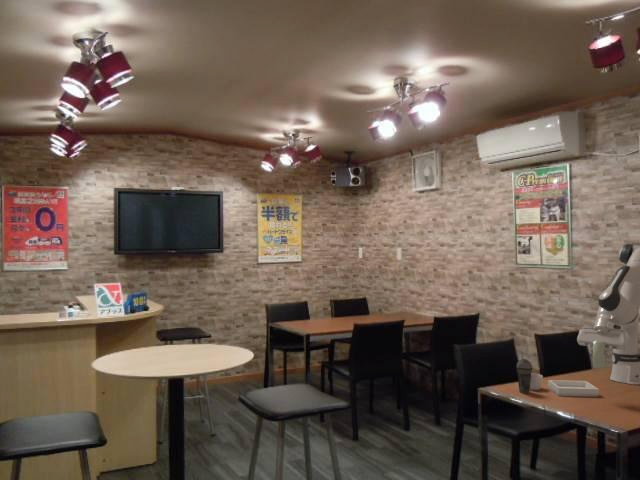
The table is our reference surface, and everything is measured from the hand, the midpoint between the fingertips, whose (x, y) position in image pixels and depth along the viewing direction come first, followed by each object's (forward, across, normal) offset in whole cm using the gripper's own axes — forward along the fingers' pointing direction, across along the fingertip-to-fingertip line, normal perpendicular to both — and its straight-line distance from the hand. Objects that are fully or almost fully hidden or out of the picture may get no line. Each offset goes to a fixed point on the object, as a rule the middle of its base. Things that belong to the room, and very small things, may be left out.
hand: (598, 353), depth 246 cm
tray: (+8, -14, +21) cm, 27 cm away
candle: (+13, -30, +18) cm, 37 cm away
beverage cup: (+20, -31, +11) cm, 38 cm away
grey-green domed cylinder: (+4, 0, +5) cm, 7 cm away
